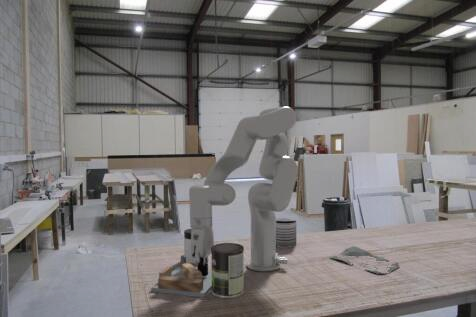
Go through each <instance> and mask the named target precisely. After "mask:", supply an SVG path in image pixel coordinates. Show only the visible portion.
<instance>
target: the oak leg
mask: <svg viewBox="0 0 476 317" xmlns="http://www.w3.org/2000/svg"><path fill="white" fill-rule="evenodd" d="M180 267H181V272H182V273H183V274H184V275H185V276H186V277H187V278H190V279H199V280H202V272H200V271H199V270H198V268H197V267H195V265H193V264H192V263H189V262H188V263H182V264H181V263H180Z"/></svg>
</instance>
